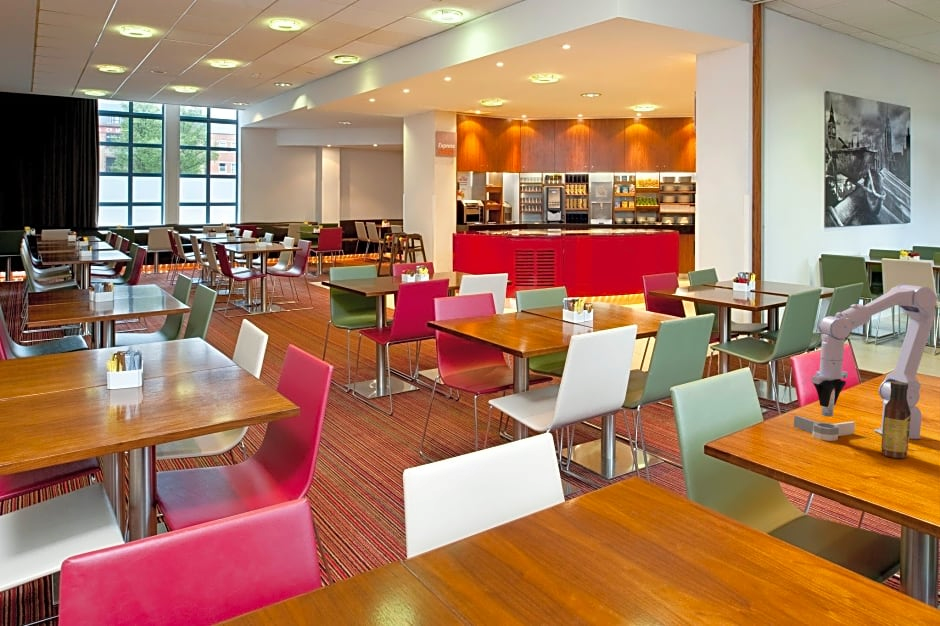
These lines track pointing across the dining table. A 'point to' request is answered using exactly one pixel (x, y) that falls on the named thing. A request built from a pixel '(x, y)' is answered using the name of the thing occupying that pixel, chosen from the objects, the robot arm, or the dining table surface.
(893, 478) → the dining table surface
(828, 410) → the hinge pin
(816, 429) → the hinge
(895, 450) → the sauce bottle
